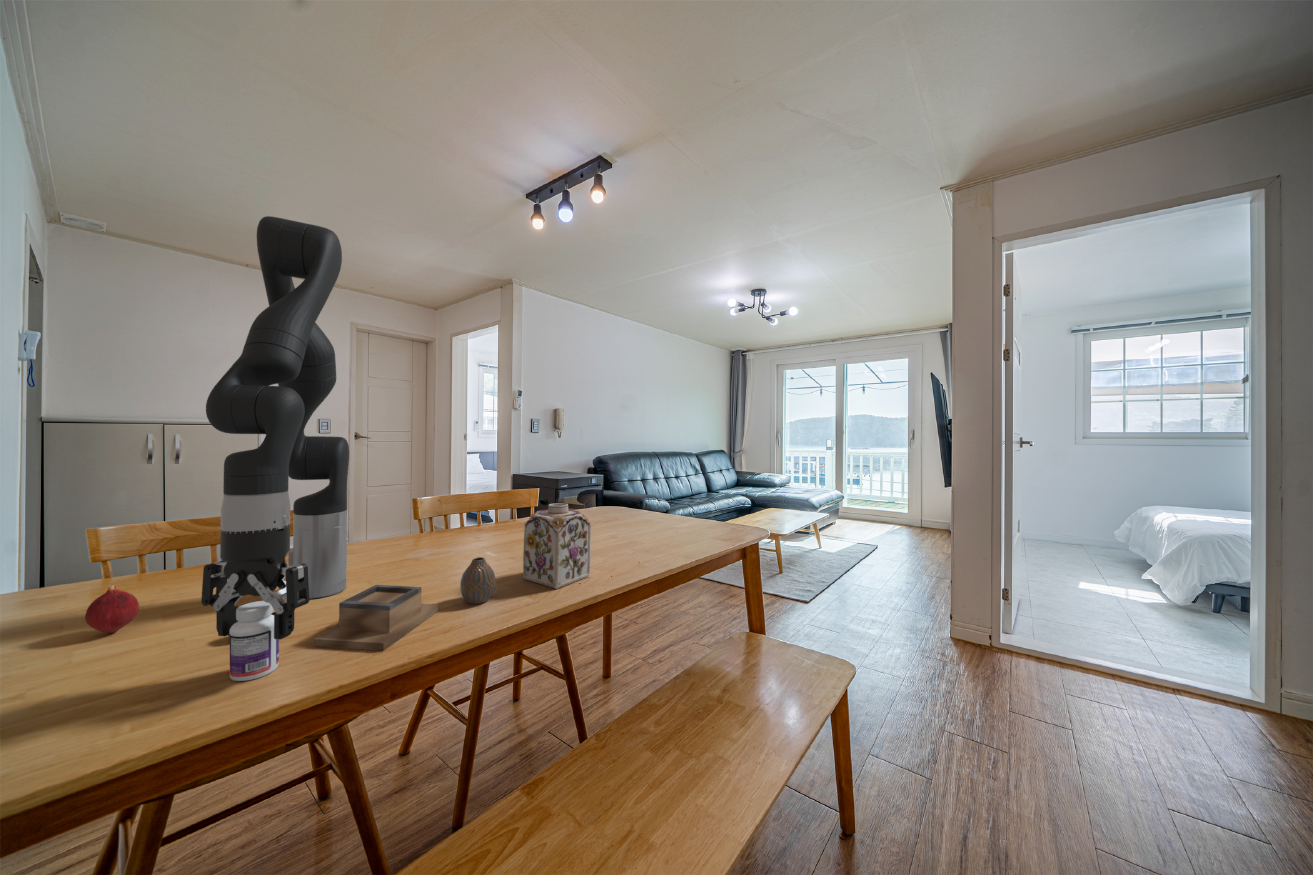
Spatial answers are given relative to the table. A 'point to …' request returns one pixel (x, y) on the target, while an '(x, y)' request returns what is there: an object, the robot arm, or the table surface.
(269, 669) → the pill bottle
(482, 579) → the vase
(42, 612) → the table surface
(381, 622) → the display stand
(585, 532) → the decorative jar
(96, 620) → the onion
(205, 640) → the table surface
